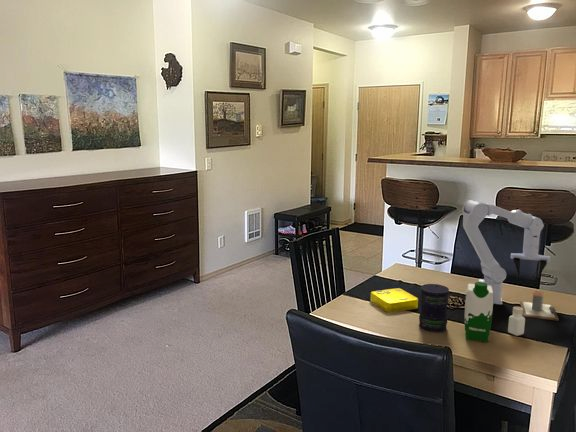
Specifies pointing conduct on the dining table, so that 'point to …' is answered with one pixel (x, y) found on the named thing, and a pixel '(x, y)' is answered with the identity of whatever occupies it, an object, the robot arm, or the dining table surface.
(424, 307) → the storage jar
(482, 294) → the milk carton
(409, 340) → the dining table surface
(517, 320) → the salt shaker
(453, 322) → the dining table surface
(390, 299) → the element tile
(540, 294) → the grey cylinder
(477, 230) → the robot arm
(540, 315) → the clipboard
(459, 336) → the dining table surface
